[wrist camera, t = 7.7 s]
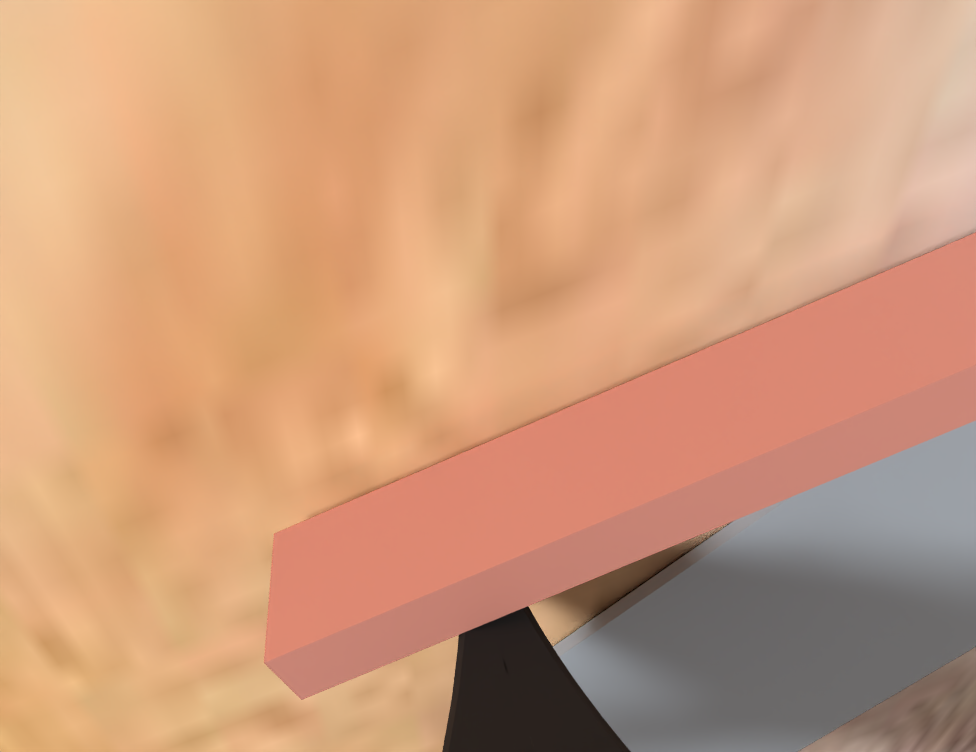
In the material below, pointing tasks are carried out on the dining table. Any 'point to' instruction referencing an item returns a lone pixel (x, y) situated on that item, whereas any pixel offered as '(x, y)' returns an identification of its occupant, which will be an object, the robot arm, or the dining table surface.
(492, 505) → the pink flat bar
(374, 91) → the dining table surface
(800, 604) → the slate mat
